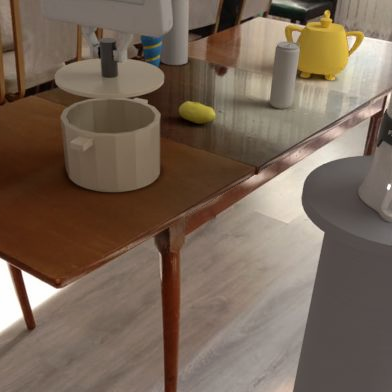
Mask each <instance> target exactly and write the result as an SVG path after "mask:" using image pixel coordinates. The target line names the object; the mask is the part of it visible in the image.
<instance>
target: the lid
mask: <svg viewBox="0 0 392 392" xmlns="http://www.w3.org/2000/svg"><path fill="white" fill-rule="evenodd" d="M98 42H99V47H100V59H97V58H89V59H82V60H78V61H74V62H71V63H68V64H66V65H63V66H62V67H60V68H59V69H57V71H56V72H55V73H54V83H55V85H56V86H57V87H58V88H59V89H60V90H62V91H64V92H67V93H69V94H71V95H75V96H79V97H84V98H88V99H96V98H100V99H119V98H128V99H130V98H136V97H139V96H143V95H147V94H150V93H152V92H154V91H156V90H159V89H160V88H161V87H162V86H163V85H164V84H165V73H164V71H163V70H161V69H160V68H159V66H158V67H156V66H154V65H152V64H149V63H146V62H145V61H142V60H139V59H138V60H137V59H131V58H127V61H126V62H124V63H118V62H114V60H113V57H114V56H113V50H114V49H116V48H117V47H118V40H117V39H116V38H114V37H103V38H100V39H98Z"/></svg>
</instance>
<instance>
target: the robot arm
mask: <svg viewBox="0 0 392 392" xmlns="http://www.w3.org/2000/svg"><path fill="white" fill-rule="evenodd" d="M39 1H40V7H41V12H42V14H43V15H44V16H45V19H47V20H49V21H54V22H59V23H66V24H72V25H79V26H80V28H81V34H82V36H83V38H84V40H85V42H86V43H87V45H88V46H89V56H90V59H100V47H99V39H98V37H97V35H96V33H95V32H96V31H97V30H98V29H102V30H109V31H115V32H117V35H118V37H117V38H118V39H119V40H121V41H120V44H119V46H117V48H116V49H114V50H113V56H114V57H113V60H114V62H118V63H124V62H126V61H127V59H128V49H129V47H130V45H131V43H132V41H133V38H134V35H140V36H141V35H145V36H151V37H157V38H159V37H162V36H164V35H165V34H167V33H168V32H169V31H170V30H171V28H172V26H173V16H172V4H171V0H39ZM373 156H374V157H373V160H372V162H371V165H370V167H369V169H368V172H367V174H366V176H365V178H364V180H363V181H362V183H361V185H360V186H359V188H358V195H359V197H360V198H361V200H362V201H363V202H364V203H365V204H367V205H368V206H369V207H371V208H373V209H374V210H376V211H377V212H378V213H379V214H380V216H381V217H382V218H383V219H384V220H385V221H387V222H391V223H392V91H391V93H390V96H389V101H388V105H387V108H385V110H384V112H383V114H382V116H381V119H380V123H379V127H378V131H377V136H376V149H375V152H374V154H373Z"/></svg>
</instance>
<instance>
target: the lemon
mask: <svg viewBox="0 0 392 392" xmlns="http://www.w3.org/2000/svg"><path fill="white" fill-rule="evenodd" d="M178 114H179V116H180V117H181V118H182V119H184V120H186V121H189V122H192V123H195V124H198V125H203V124H206V123H212V122H213V121H214V120H215V119H216V112H215V110H214V109H213V107H211V106H207V105H205V104H202V103H200V102H198V101H190V100H187V101H185V102H183V103H182V104H181V105H180V106H179V108H178Z"/></svg>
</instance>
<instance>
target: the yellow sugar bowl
mask: <svg viewBox="0 0 392 392" xmlns="http://www.w3.org/2000/svg"><path fill="white" fill-rule="evenodd" d="M330 17H331V11H330V10H329V9H327V10H325V11H324V12H323V17H321V18H320V20H319V21H310V22H308V23H306V25H305V26H304V27H301V26H297V25H294V24H288V25H286V26H285V28H284V37H285V39H286V41H289V42H294V40H293V32H299V33H300V34H299V35H298V38H297V40H296V42H295V43H297V44H299V45H300V47H299V49H300V52H299V59H298V66H297V71H298V70H299V72H301V73H300V74H299V76H300V77H301V78H304V79H309V78H311V76H312V74H315V75H324V79H325V80H326V81H335V80H336V78H335V75H339V74H341V73H342V72H343V71H344V69H345V68H346V67H347V65H348V63H349V57H351V55H353V54H354V52H356V50H358V48H359V47H360V46H361V45H362V43H363V41H364V39H365V33H364V32H363V31H359V30H352V31H346V30H345V27H344V25H342V24H339V23H334V22H333V19H332V18H330ZM348 37H354V38H355V40H354V43H353V45H352V46H351V48H350V49H349V41H348Z"/></svg>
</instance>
